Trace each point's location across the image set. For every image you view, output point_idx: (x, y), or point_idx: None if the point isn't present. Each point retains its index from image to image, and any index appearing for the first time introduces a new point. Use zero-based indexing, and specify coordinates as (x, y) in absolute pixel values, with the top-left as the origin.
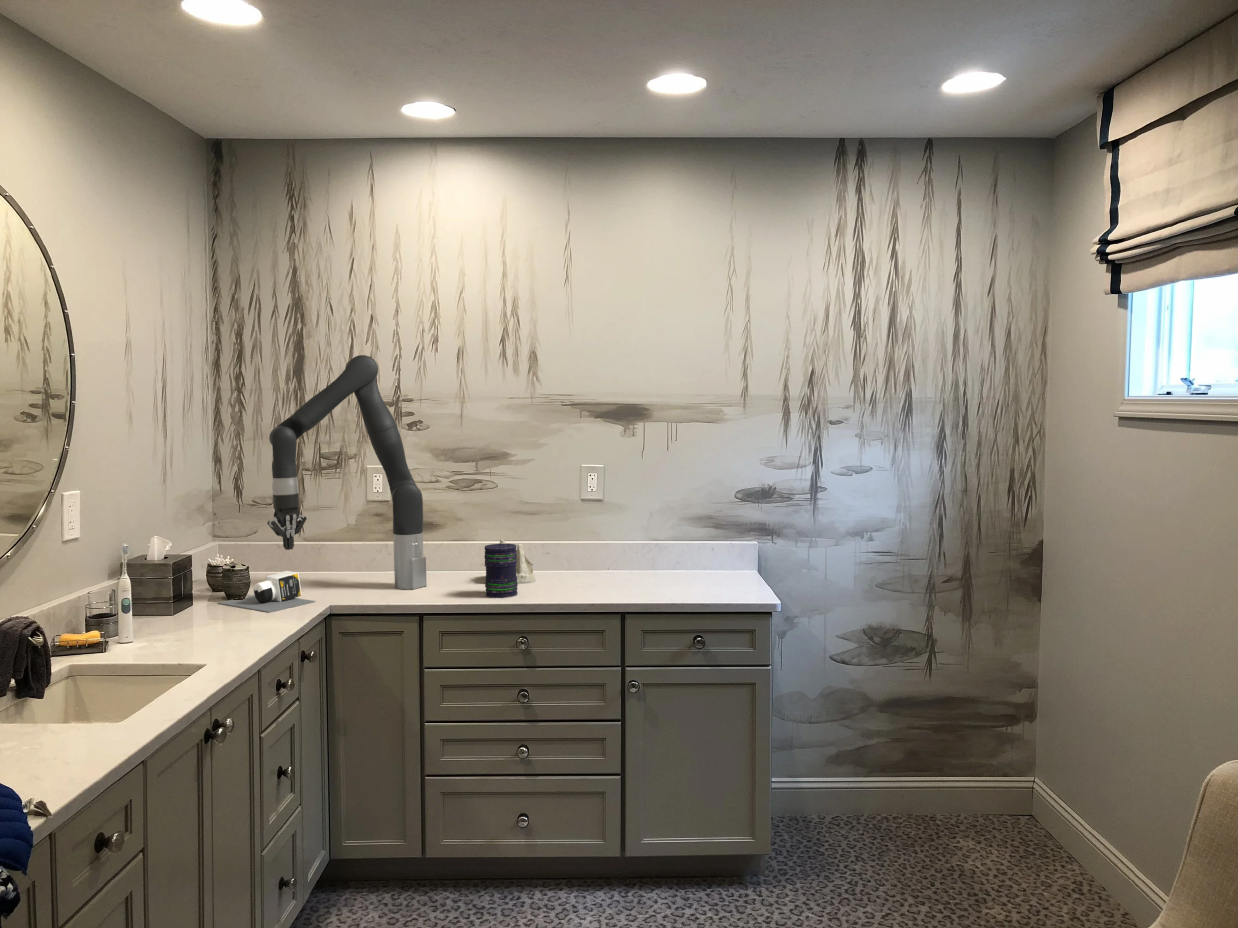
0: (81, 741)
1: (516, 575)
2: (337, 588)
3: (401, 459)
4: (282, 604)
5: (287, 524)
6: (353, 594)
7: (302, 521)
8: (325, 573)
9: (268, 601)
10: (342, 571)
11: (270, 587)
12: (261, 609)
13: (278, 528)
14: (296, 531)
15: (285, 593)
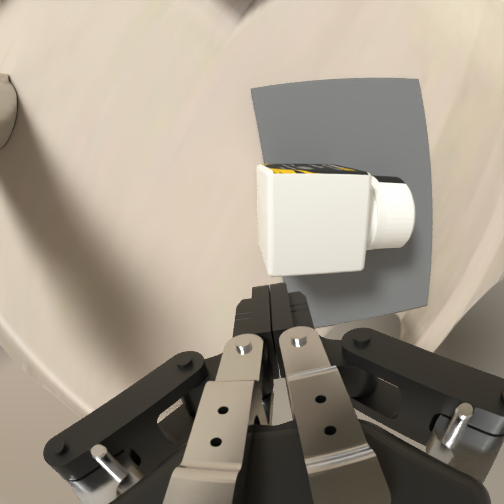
0: None
1: None
2: (104, 235)
3: None
4: (349, 129)
5: (334, 413)
6: (110, 111)
7: (96, 434)
8: (86, 400)
9: None
10: (57, 387)
11: (381, 183)
12: (419, 122)
13: (436, 370)
14: (198, 366)
15: (323, 165)
